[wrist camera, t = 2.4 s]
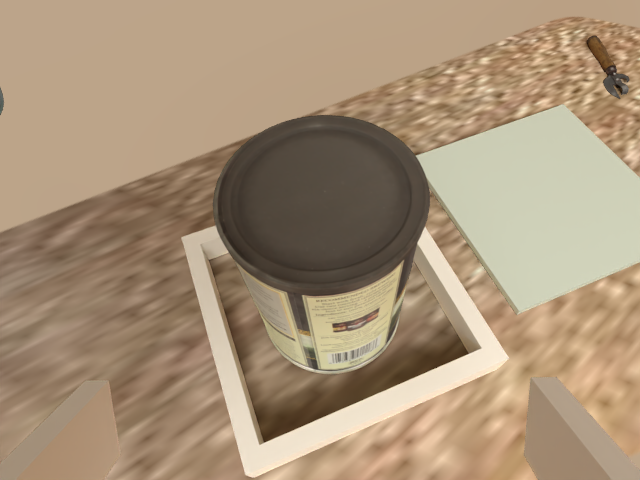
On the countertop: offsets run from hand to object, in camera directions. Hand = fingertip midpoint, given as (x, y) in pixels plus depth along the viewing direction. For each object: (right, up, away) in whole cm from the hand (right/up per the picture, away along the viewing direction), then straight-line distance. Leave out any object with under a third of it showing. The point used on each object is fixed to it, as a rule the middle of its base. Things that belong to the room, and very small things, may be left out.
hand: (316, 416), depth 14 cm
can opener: (+29, +23, +31) cm, 49 cm away
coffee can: (+1, 0, +19) cm, 19 cm away
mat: (+19, +9, +23) cm, 31 cm away
